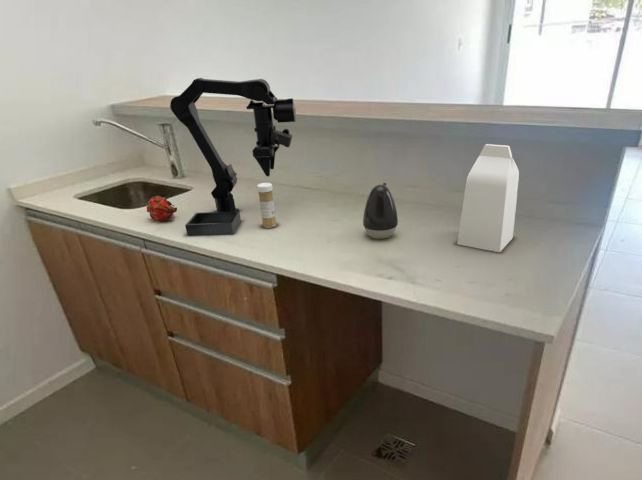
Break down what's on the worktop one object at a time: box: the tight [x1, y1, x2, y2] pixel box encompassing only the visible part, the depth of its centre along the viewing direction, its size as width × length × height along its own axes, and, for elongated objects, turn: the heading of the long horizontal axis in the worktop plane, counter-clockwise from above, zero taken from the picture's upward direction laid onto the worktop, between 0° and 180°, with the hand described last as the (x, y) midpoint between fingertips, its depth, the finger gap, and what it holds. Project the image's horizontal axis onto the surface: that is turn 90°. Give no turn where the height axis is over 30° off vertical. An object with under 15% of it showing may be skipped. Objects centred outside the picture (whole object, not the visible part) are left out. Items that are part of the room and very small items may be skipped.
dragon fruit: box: [146, 195, 178, 223], centre depth 159 cm, size 8×8×12 cm
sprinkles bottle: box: [256, 182, 278, 229], centre depth 147 cm, size 5×5×14 cm
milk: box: [456, 143, 520, 253], centre depth 125 cm, size 12×12×26 cm
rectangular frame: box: [184, 210, 242, 237], centre depth 150 cm, size 12×15×4 cm
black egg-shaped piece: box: [362, 182, 399, 240], centre depth 135 cm, size 10×10×15 cm
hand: (270, 172), depth 157 cm, fingers open, 9 cm apart
